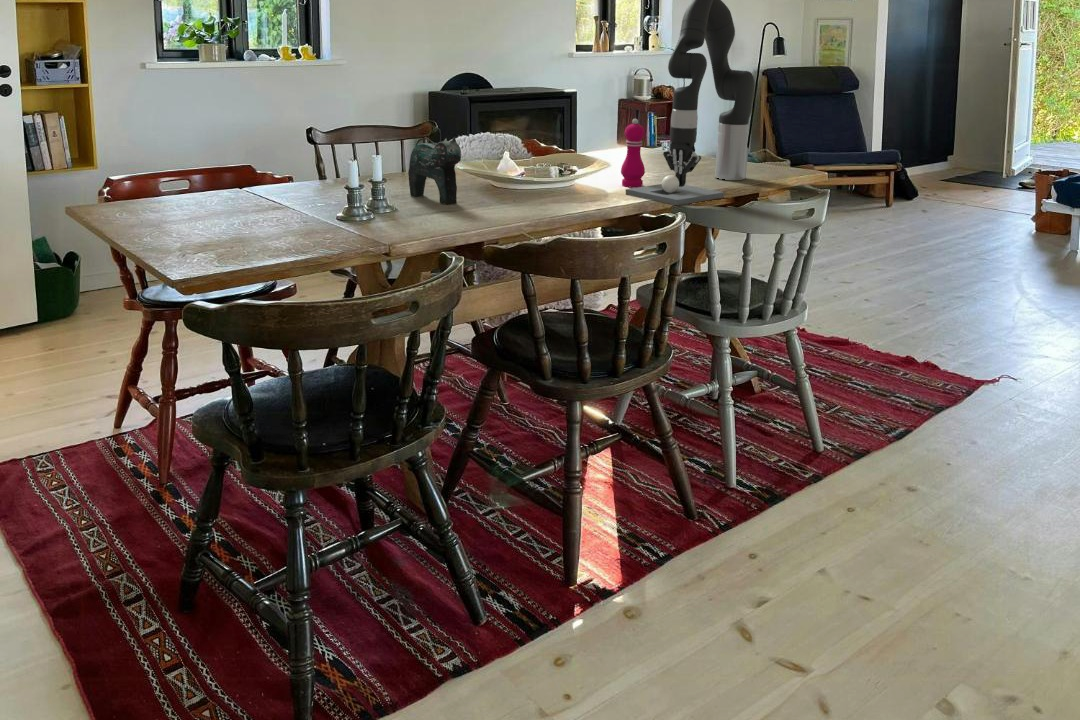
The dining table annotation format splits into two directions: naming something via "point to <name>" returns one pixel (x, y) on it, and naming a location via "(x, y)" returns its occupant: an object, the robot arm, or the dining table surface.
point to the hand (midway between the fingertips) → (680, 186)
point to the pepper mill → (633, 156)
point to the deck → (675, 194)
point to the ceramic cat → (435, 168)
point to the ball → (670, 183)
